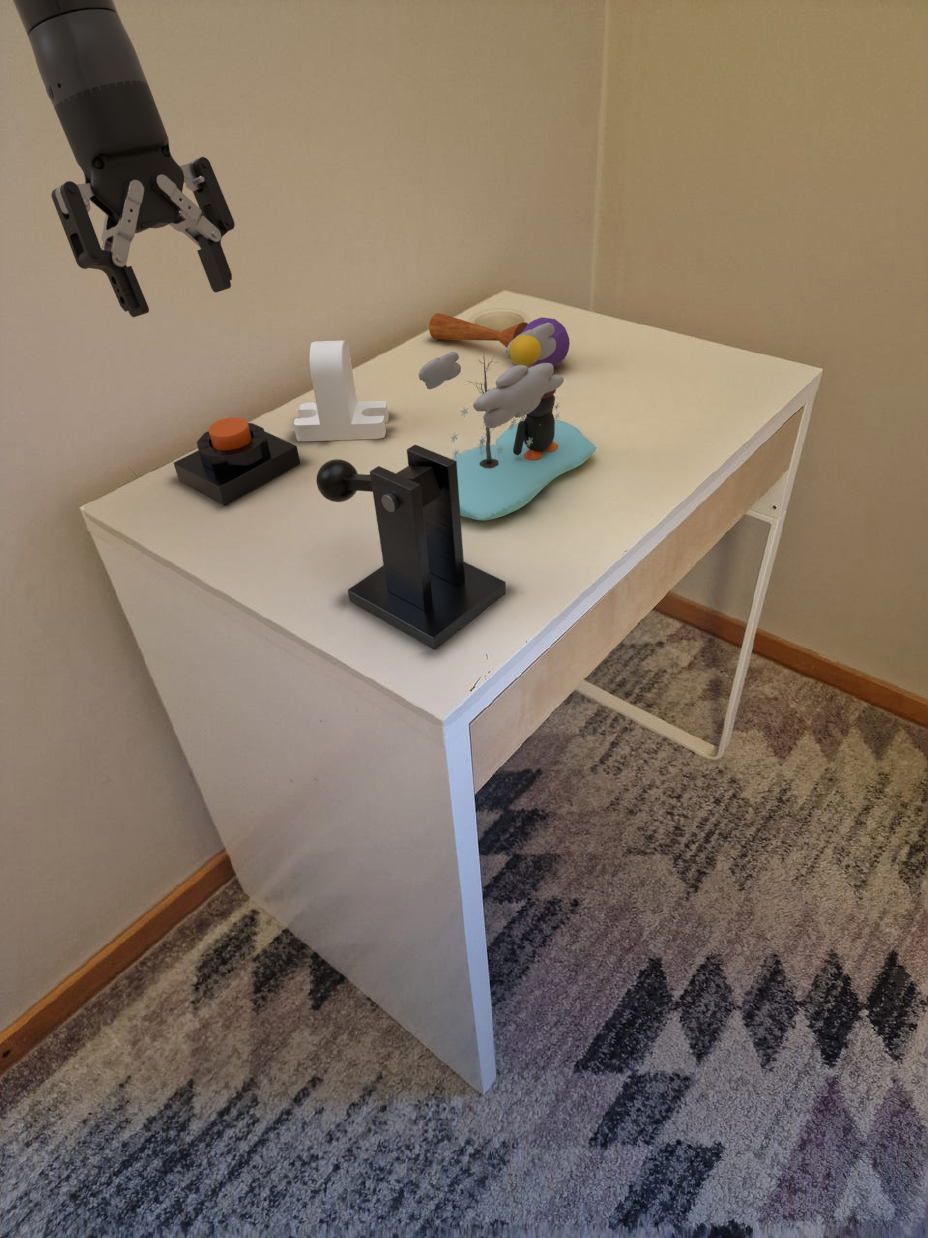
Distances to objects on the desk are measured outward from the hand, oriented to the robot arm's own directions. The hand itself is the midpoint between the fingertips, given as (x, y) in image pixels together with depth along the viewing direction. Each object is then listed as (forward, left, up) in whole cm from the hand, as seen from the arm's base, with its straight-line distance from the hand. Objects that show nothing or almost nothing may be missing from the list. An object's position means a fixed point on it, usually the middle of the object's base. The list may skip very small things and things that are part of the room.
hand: (183, 302), depth 74 cm
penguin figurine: (+19, -21, -20) cm, 34 cm away
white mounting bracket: (+16, +1, -20) cm, 25 cm away
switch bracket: (0, -27, -20) cm, 33 cm away
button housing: (+3, +3, -20) cm, 20 cm away
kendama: (+41, -1, -20) cm, 46 cm away
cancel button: (+3, +3, -16) cm, 17 cm away
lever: (0, -22, -12) cm, 25 cm away
